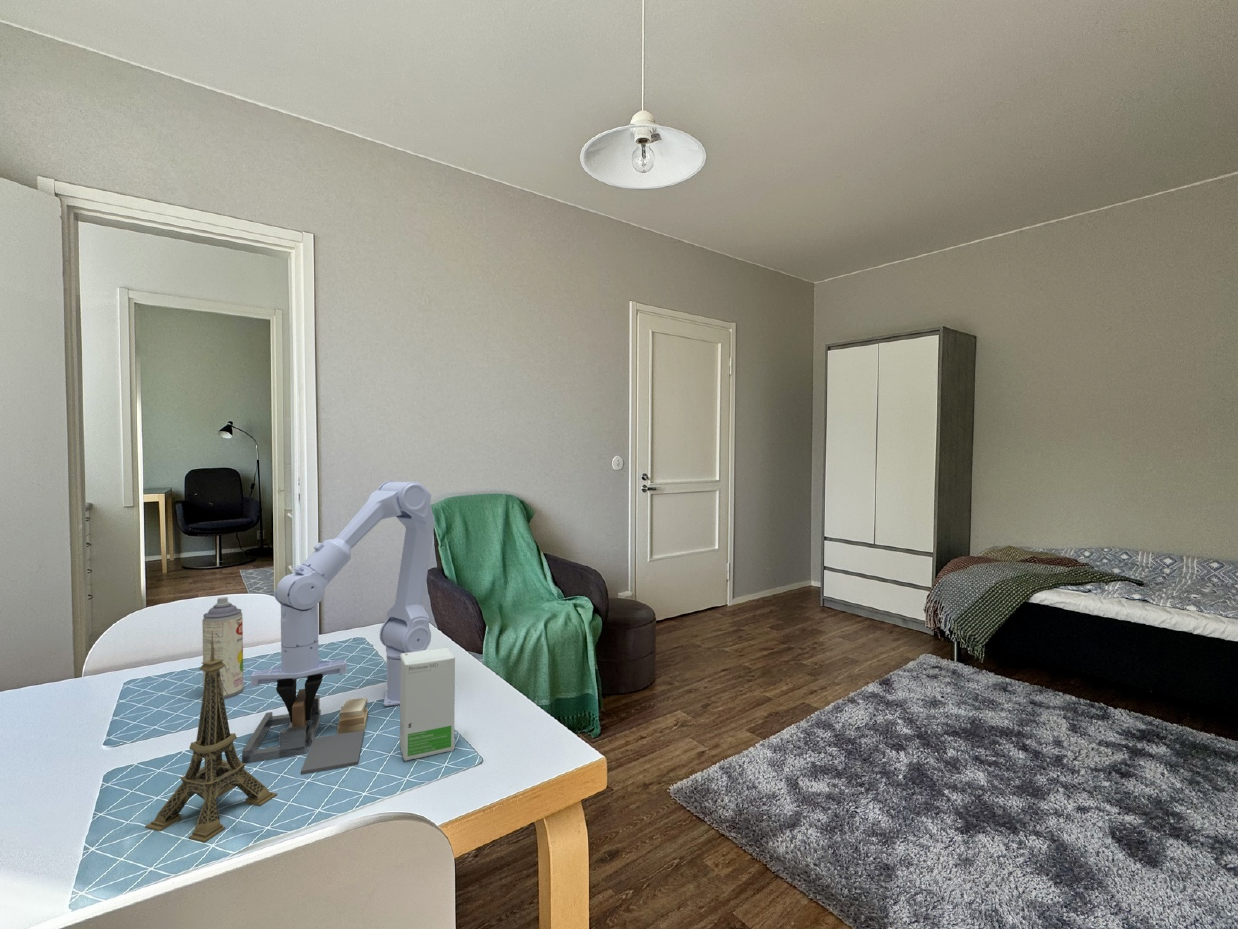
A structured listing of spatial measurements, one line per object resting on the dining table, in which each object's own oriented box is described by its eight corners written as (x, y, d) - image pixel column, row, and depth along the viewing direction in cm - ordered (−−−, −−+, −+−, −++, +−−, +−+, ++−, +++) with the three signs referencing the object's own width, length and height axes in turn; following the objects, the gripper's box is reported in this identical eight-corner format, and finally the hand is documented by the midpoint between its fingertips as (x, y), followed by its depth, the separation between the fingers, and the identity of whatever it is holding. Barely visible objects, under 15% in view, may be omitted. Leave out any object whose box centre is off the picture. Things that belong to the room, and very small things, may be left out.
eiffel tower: (222, 784, 84) (220, 618, 84) (277, 795, 81) (275, 623, 81) (145, 828, 74) (142, 639, 74) (204, 843, 71) (202, 646, 71)
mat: (364, 733, 99) (364, 730, 99) (357, 764, 89) (357, 761, 89) (313, 741, 97) (313, 738, 97) (300, 774, 86) (300, 771, 86)
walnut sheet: (309, 720, 103) (309, 688, 103) (303, 740, 95) (302, 705, 95) (299, 722, 102) (299, 689, 102) (292, 742, 95) (292, 707, 95)
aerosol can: (245, 694, 117) (244, 598, 116) (204, 703, 112) (203, 603, 112) (241, 684, 122) (240, 592, 122) (202, 692, 118) (201, 597, 117)
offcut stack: (368, 714, 107) (367, 696, 107) (364, 731, 100) (364, 712, 100) (341, 717, 106) (341, 699, 105) (336, 735, 99) (336, 716, 99)
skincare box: (403, 763, 90) (402, 665, 89) (398, 744, 95) (397, 653, 95) (456, 750, 93) (456, 656, 93) (449, 733, 99) (448, 645, 99)
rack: (322, 715, 106) (322, 694, 106) (307, 753, 93) (307, 729, 93) (266, 723, 103) (266, 702, 103) (242, 763, 90) (241, 738, 90)
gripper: (347, 630, 105) (348, 703, 105) (256, 641, 100) (258, 717, 100) (344, 642, 99) (345, 719, 99) (247, 653, 93) (248, 735, 93)
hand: (301, 719), depth 99 cm, fingers closed on walnut sheet, 2 cm apart
